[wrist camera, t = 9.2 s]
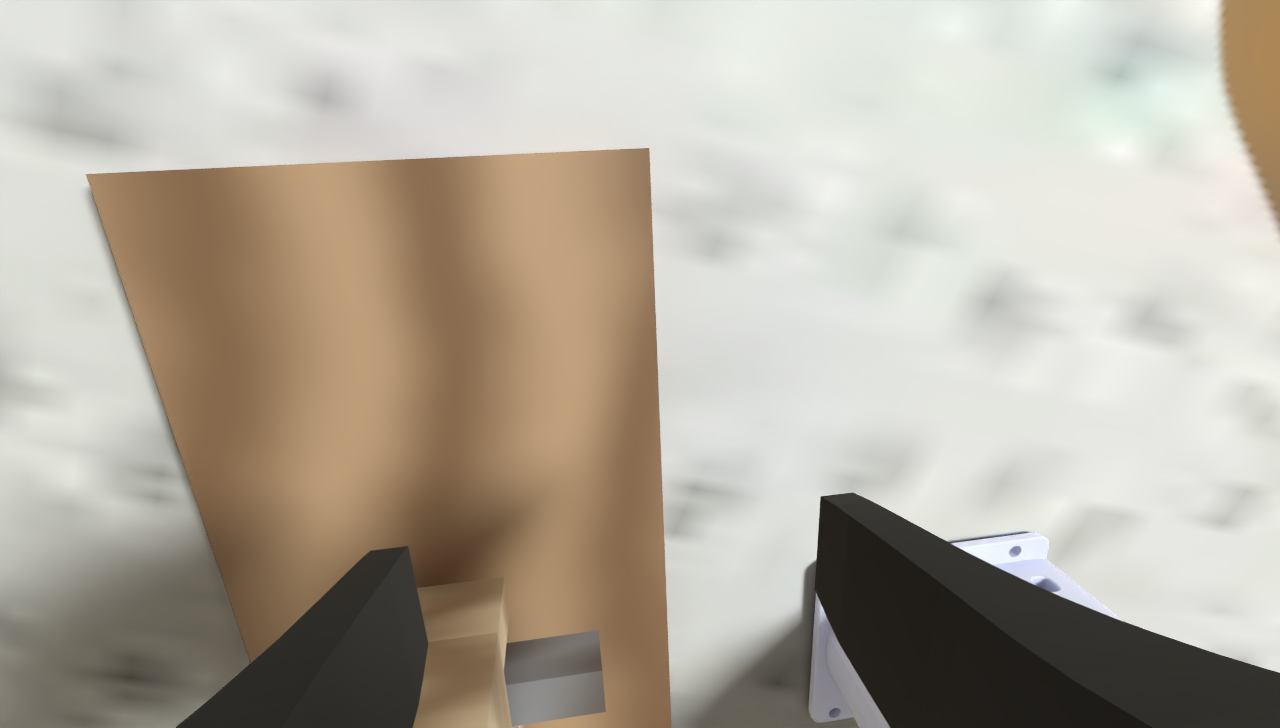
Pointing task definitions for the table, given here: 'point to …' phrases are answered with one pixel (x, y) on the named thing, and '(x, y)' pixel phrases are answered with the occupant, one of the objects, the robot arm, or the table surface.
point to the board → (422, 394)
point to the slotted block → (465, 656)
